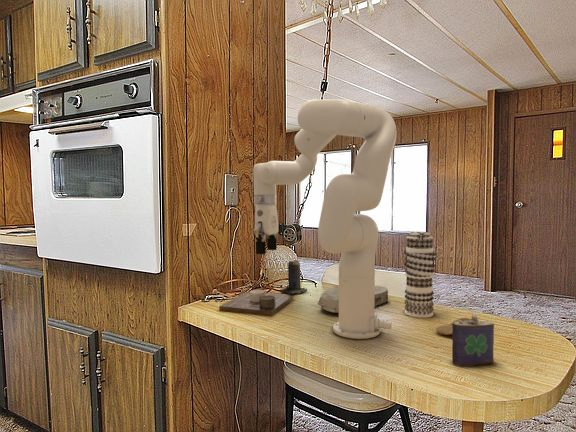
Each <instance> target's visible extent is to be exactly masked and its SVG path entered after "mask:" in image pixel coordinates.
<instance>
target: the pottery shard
mask: <svg viewBox="0 0 576 432" xmlns="http://www.w3.org/2000/svg"><path fill="white" fill-rule="evenodd" d="M470 319H471V318H470V317H459V318H457V319H455V320H454V321H452V322H450V323H449V324H447V325H446V324H444V325H438V326H436V327H435V332H436V333H437V334H440V335H445V336H450V335H452V330H453V329H452V324H453V323H454V322H459V320H461V321H462V322H465V321H468V320H470Z"/></svg>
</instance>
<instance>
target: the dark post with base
mask: <svg viewBox="0 0 576 432" xmlns="http://www.w3.org/2000/svg"><path fill="white" fill-rule="evenodd" d="M287 275H288V277H287V279H288V287H285V288H282V289H281V288H280V289H279V291H280V293H287V295H293V296H294V295H295V294H297V295H300V293H301V294H302V293H304V292H305V293H306V292H308V288H306V287H302V286H301V263H300V261H299V260H296V259H295V260H289V262H288V263H287Z"/></svg>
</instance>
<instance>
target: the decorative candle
mask: <svg viewBox="0 0 576 432" xmlns="http://www.w3.org/2000/svg"><path fill="white" fill-rule="evenodd" d="M405 238H406V247H405V250H404V251H403V254H404V255H405V256H404V258H403V260H404V262H403V263H404V264H403V265H404V267H405V268H404V276H405V277H406V280H405V281H406V282H405V289H404V293H405V294H404V298H405V299H404V309H405V310H404V314H405V315H407V316H409V317H413V318H423V319H424V318H431V317H433V316H434V312H433V311H434V306H435V303H434V301H433V300H434V299H435V298H434V296H433V295H435V292H434V286H433V278H434V277H435V275H434V274H433V273H435V272H436V271H435V269H433V268H434V267H436V265H435V264H434V263H433V262H435V261H436V258H435V257H434V256H436V254H437V253H436V252H434V246H433V245H434V242H433V240H434V237H433V236H432V235H431V233H430V232H427V231H411V232H410V233H408V235H407V236H405Z"/></svg>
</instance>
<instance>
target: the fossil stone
mask: <svg viewBox="0 0 576 432" xmlns="http://www.w3.org/2000/svg"><path fill="white" fill-rule="evenodd" d="M388 300H389V290H388V288H387V287H386V286H382V285H375V304H374V307H377V306H378V305H379V306H381V304H385V303H386V302H387V301H388ZM317 305H318V306H319V307H321V308H322V309H323V310H325V311H326V312H330V313H334V314H335V313H337V314H339V286H338V285H334V286H333V287H330V288H328V289H327V290H325V291H324V292H322V293H321V295H320V297H319V300H318V301H317Z"/></svg>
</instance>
